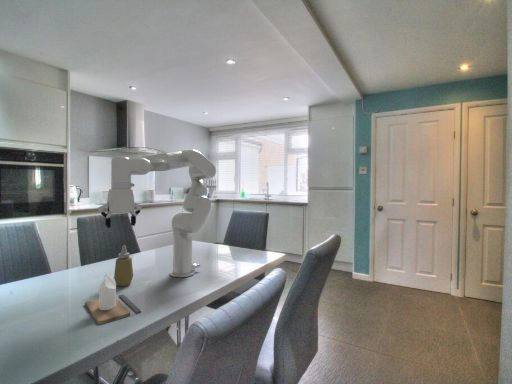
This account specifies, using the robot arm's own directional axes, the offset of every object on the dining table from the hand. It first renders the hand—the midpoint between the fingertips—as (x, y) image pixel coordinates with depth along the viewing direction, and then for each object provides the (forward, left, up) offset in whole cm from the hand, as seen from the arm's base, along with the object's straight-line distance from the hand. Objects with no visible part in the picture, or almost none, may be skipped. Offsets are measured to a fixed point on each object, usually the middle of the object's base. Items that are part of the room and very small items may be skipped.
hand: (121, 226), depth 118 cm
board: (+9, +14, -28) cm, 33 cm away
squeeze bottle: (-4, -9, -28) cm, 30 cm away
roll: (+9, +14, -28) cm, 32 cm away
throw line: (+1, +14, -28) cm, 32 cm away
